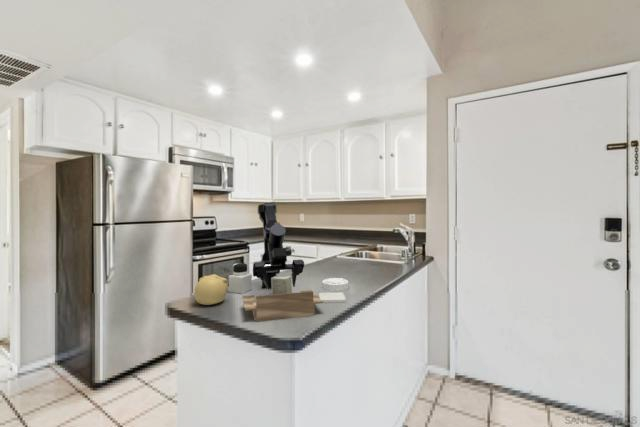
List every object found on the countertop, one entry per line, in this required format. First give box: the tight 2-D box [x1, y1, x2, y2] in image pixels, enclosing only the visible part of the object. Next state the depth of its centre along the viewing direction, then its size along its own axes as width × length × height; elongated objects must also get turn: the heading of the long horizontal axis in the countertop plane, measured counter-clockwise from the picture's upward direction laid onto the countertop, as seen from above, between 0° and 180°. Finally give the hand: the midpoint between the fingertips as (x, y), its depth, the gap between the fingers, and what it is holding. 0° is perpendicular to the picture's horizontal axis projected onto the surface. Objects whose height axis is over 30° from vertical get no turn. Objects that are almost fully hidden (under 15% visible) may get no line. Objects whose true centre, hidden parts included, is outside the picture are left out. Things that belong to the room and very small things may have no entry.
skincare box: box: [270, 274, 293, 295], centre depth 113 cm, size 6×4×12 cm
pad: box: [318, 291, 347, 304], centre depth 127 cm, size 10×10×1 cm
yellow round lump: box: [194, 273, 229, 306], centre depth 122 cm, size 11×12×11 cm
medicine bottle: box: [228, 262, 253, 295], centre depth 139 cm, size 7×7×12 cm
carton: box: [241, 289, 324, 322], centre depth 113 cm, size 16×26×8 cm, turn 107°
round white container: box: [321, 277, 349, 292], centre depth 144 cm, size 12×12×4 cm
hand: (281, 287), depth 113 cm, fingers open, 9 cm apart
